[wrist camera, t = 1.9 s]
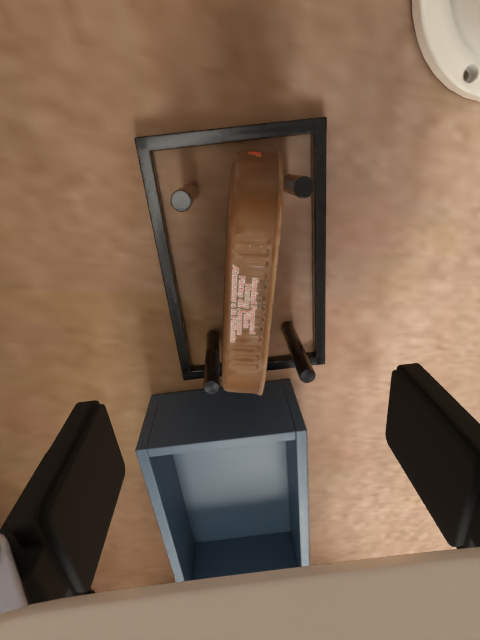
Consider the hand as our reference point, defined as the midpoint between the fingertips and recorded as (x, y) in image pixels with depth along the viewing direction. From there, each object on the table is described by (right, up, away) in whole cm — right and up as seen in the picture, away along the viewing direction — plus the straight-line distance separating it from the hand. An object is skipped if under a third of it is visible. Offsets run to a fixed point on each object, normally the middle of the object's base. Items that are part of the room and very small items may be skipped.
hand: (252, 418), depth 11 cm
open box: (-1, -12, +23) cm, 25 cm away
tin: (0, +7, +14) cm, 16 cm away
